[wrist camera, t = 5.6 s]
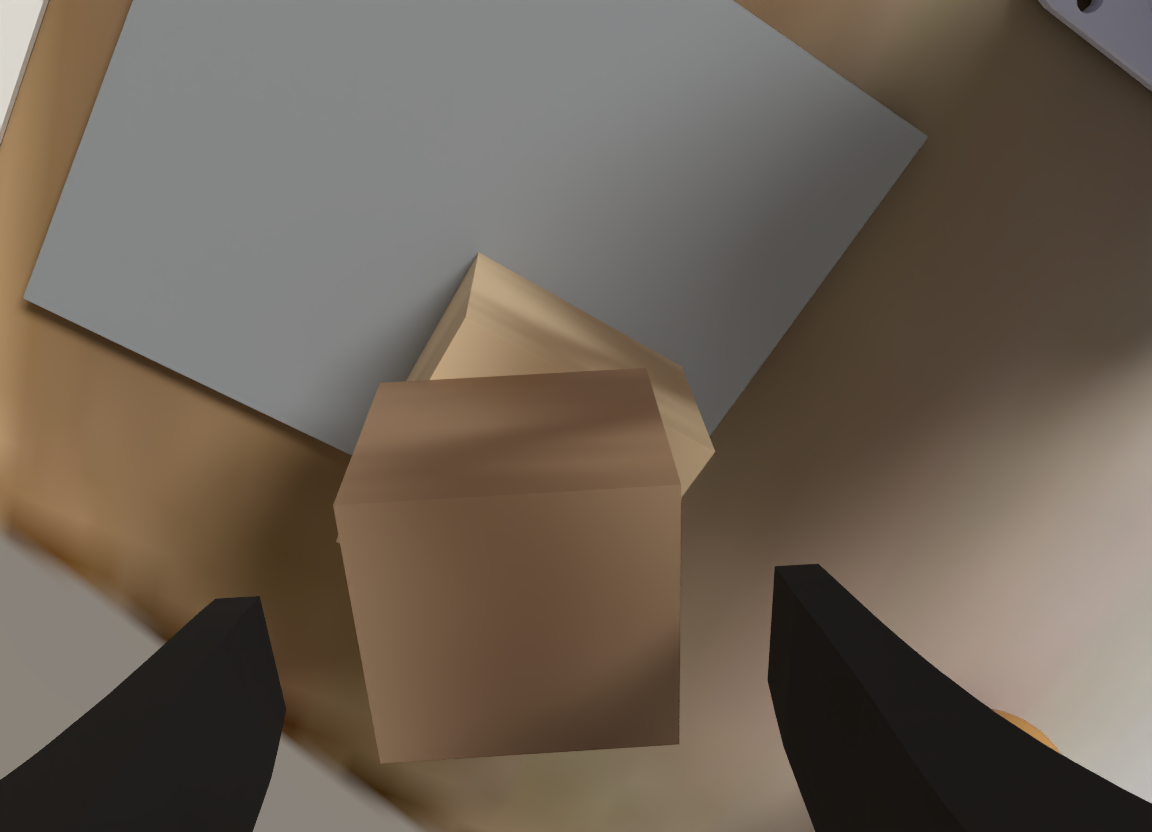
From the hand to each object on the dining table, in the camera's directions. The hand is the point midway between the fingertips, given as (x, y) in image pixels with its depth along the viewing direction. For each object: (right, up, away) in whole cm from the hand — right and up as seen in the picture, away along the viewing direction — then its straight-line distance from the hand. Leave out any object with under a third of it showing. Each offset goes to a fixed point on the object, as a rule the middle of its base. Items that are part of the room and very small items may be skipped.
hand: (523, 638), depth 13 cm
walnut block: (0, +2, +4) cm, 4 cm away
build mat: (-1, +7, +6) cm, 10 cm away
